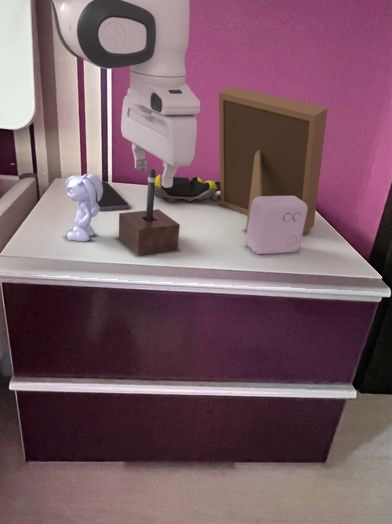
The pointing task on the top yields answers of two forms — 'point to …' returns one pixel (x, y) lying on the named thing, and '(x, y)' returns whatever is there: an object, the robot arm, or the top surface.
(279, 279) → the top surface
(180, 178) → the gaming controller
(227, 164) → the photo frame
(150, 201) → the stylus
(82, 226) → the toy figurine
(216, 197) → the wristwatch
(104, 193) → the smartphone
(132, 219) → the pen block
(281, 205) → the electronic device
